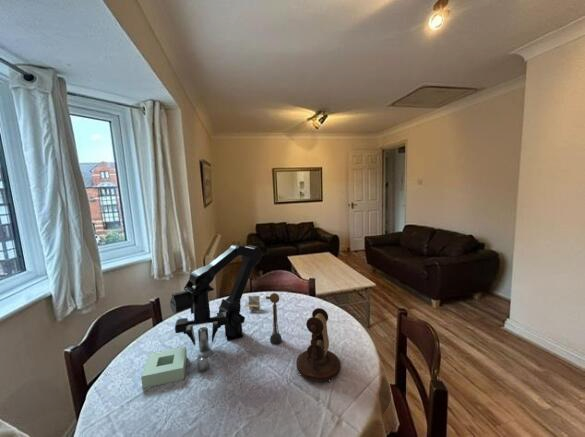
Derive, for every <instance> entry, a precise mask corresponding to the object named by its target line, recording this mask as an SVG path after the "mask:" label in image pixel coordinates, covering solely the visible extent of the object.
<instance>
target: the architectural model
mask: <svg viewBox="0 0 585 437" xmlns="http://www.w3.org/2000/svg"><path fill="white" fill-rule="evenodd" d="M244 307H245V308H248V310H254V311H255V310H256V311H257V310H258V311H261V302H260V295H248V302H247V303H245V305H244Z"/></svg>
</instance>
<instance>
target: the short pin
mask: <svg viewBox="0 0 585 437" xmlns="http://www.w3.org/2000/svg"><path fill="white" fill-rule="evenodd" d="M196 359H197V371H198V373H201V374H202V373H206V372H208V371H209V369H210V364H209V363H210V362H209V356H208V355H207V354H203V355H202V354H201V355H200V356H198V358H196Z"/></svg>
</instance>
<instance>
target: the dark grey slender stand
mask: <svg viewBox="0 0 585 437" xmlns="http://www.w3.org/2000/svg"><path fill="white" fill-rule="evenodd" d="M265 299H266V300H270V302H271V303H272V315H273V316H272V319H273V320H272V321H273V322H272V323H273V326H272V334H271V335H270V339H269V342H270V344H271V345H275V346H276V345H281V343H282V342H283V339H282V336H281V333H280V332H279V326H278V325H279V323H278V312H277V310H278V309H277V308H278V307H277V306H278V305H277V303H278V302H280V295H279V294H278V293H275V292H273V293H271V294H270V296H265Z"/></svg>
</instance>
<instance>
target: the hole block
mask: <svg viewBox="0 0 585 437" xmlns="http://www.w3.org/2000/svg"><path fill="white" fill-rule="evenodd" d="M187 359H188V354H187V346H183V347H177V348H172V349H168V350H163V351H158V352H152V353H149V354H148V356H147V360H146V363H145V365H144V367H143V371H142V374H141V385H142V386H141V387H142V389H146V388H150V387H155V386H159V385H165V384H168V383H173V382H177V381H182V380H185V375H186V374H185V373H186V367H187Z"/></svg>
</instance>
